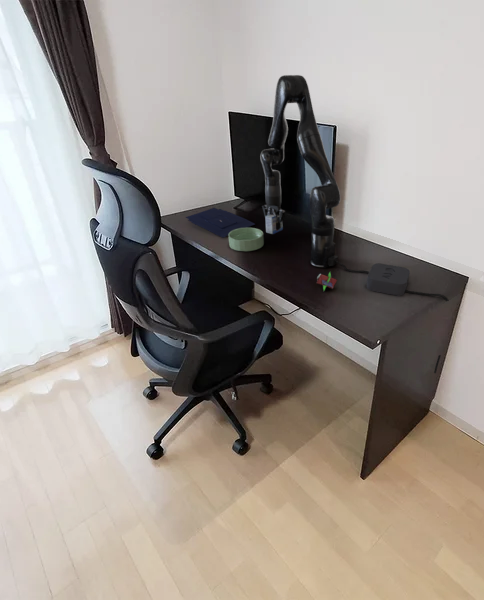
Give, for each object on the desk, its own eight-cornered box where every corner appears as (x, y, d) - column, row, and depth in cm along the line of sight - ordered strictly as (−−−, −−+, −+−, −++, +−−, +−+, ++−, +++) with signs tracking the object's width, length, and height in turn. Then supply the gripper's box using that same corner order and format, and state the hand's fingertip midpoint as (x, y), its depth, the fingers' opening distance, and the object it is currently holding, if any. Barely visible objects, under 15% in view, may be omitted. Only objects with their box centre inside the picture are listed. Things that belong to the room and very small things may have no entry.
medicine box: (272, 234, 180) (271, 217, 175) (265, 232, 182) (265, 215, 178) (282, 230, 185) (282, 213, 181) (276, 228, 188) (275, 211, 183)
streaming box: (372, 273, 151) (374, 262, 148) (408, 280, 147) (410, 268, 144) (364, 290, 140) (366, 278, 137) (403, 297, 135) (405, 285, 133)
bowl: (270, 244, 176) (270, 233, 173) (245, 254, 165) (244, 243, 162) (247, 235, 185) (247, 225, 182) (222, 245, 174) (221, 234, 171)
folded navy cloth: (216, 211, 212) (216, 205, 210) (255, 228, 199) (256, 222, 197) (182, 223, 195) (182, 216, 193) (222, 242, 182) (222, 236, 180)
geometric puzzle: (339, 279, 142) (328, 264, 139) (341, 288, 136) (329, 272, 133) (324, 289, 144) (312, 274, 141) (325, 298, 138) (313, 283, 135)
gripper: (257, 192, 175) (258, 226, 184) (278, 198, 167) (279, 233, 176) (268, 189, 180) (269, 222, 189) (289, 194, 172) (290, 229, 181)
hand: (274, 227), depth 183 cm, fingers closed on medicine box, 4 cm apart
